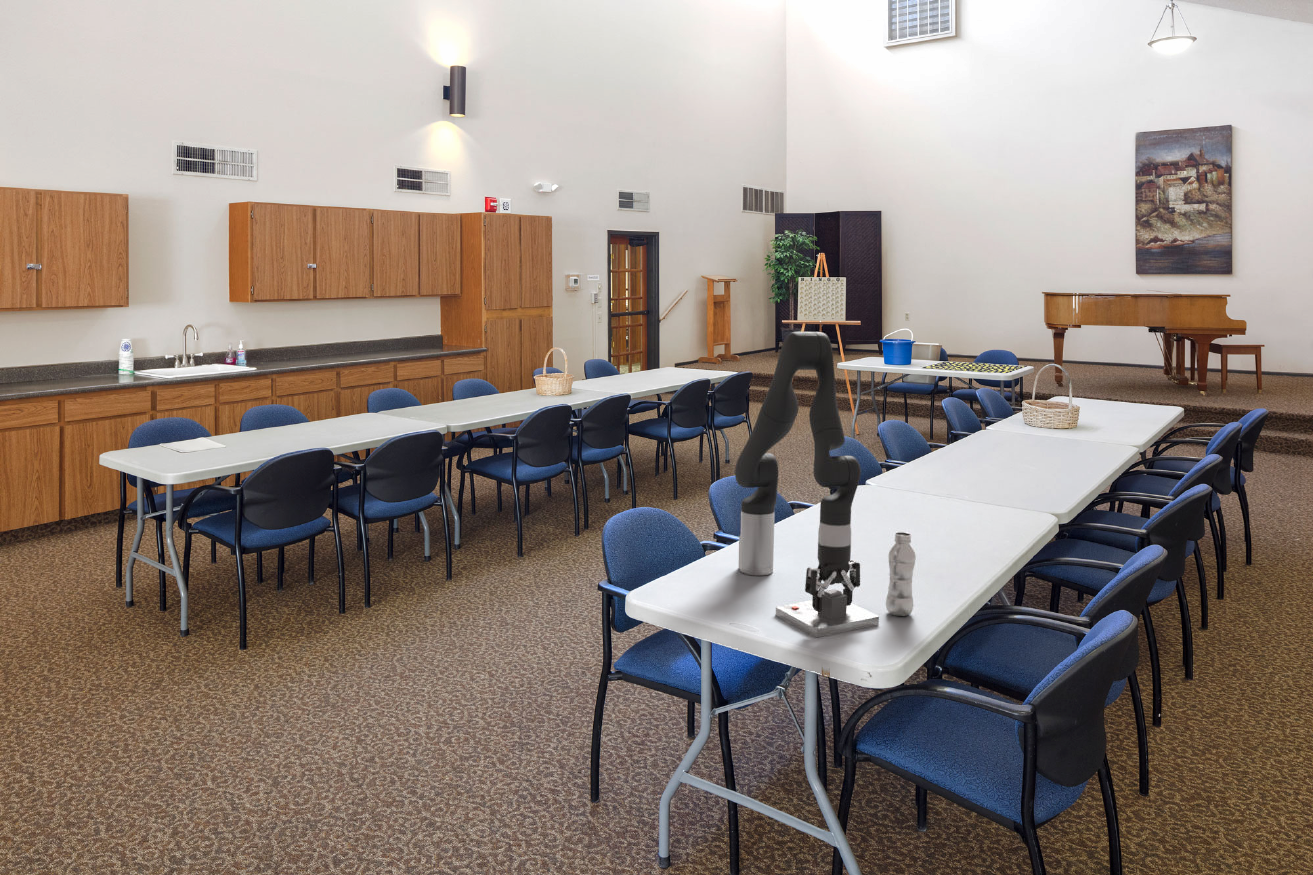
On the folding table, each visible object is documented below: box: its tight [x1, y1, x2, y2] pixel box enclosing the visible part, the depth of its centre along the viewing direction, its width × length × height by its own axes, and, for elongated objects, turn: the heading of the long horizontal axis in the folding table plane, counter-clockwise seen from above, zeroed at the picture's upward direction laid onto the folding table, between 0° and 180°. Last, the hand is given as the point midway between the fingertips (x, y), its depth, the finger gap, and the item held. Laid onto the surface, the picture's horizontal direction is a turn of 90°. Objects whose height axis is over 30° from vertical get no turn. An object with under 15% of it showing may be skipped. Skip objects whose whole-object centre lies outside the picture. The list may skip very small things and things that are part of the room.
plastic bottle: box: [885, 531, 917, 617], centre depth 213 cm, size 6×7×20 cm
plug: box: [818, 588, 847, 619], centre depth 208 cm, size 5×4×8 cm
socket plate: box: [775, 599, 880, 638], centre depth 211 cm, size 16×18×3 cm
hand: (832, 607), depth 208 cm, fingers open, 8 cm apart
